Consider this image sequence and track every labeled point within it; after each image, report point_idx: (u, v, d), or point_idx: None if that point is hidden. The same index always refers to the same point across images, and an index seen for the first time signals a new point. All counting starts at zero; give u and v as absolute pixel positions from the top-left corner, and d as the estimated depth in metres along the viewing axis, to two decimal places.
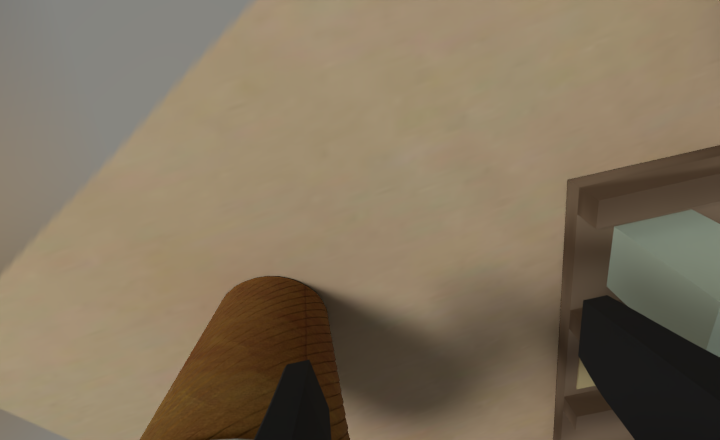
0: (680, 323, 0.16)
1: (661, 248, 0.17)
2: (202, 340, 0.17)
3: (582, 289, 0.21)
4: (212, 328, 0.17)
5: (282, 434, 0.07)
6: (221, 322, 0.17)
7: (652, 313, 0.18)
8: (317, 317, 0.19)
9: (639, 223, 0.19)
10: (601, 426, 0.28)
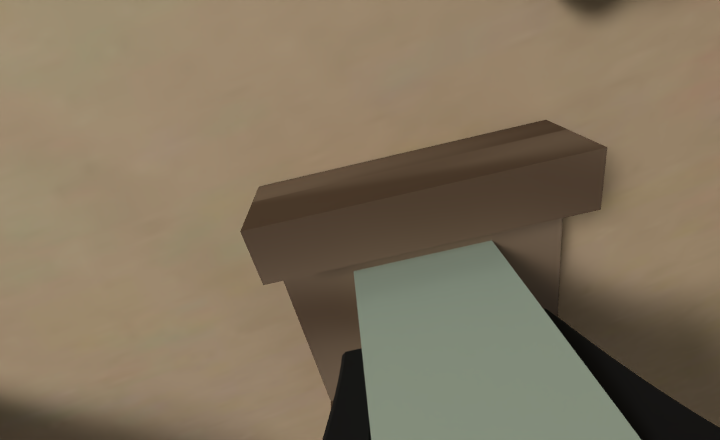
0: None
1: (384, 325, 0.09)
2: None
3: (338, 371, 0.13)
4: None
5: (357, 418, 0.07)
6: None
7: None
8: None
9: (394, 266, 0.10)
10: None
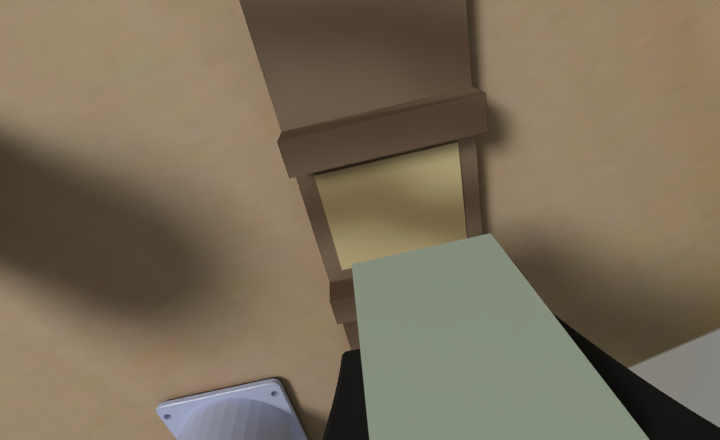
0: None
1: (382, 317, 0.09)
2: None
3: (285, 94, 0.15)
4: None
5: (357, 418, 0.07)
6: None
7: None
8: None
9: (392, 259, 0.10)
10: None
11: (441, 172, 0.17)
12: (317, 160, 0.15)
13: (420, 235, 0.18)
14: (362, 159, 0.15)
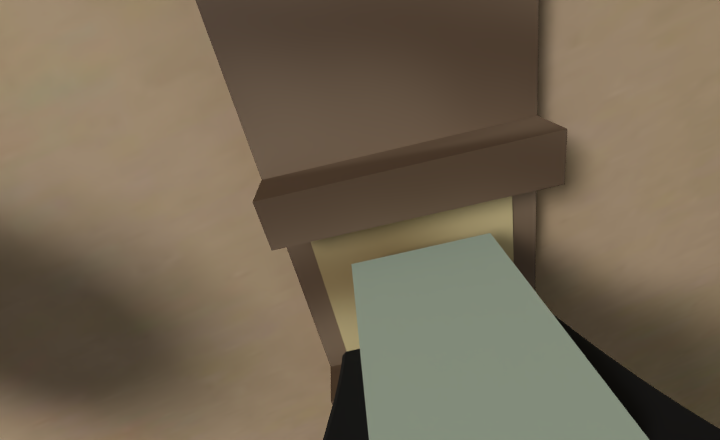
0: None
1: (382, 317, 0.09)
2: None
3: (266, 127, 0.10)
4: None
5: (358, 418, 0.07)
6: None
7: None
8: None
9: (392, 259, 0.10)
10: None
11: (486, 230, 0.12)
12: (313, 226, 0.10)
13: None
14: (379, 223, 0.10)
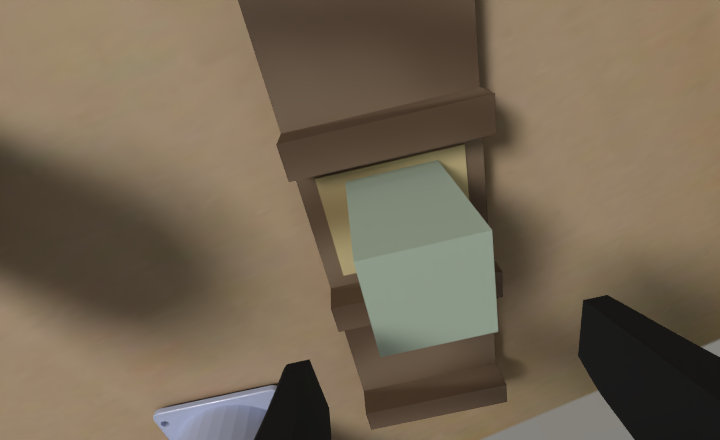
0: None
1: (363, 202, 0.14)
2: None
3: (285, 94, 0.14)
4: None
5: (282, 434, 0.07)
6: None
7: None
8: None
9: (372, 177, 0.16)
10: None
11: None
12: (318, 163, 0.14)
13: None
14: (365, 162, 0.14)
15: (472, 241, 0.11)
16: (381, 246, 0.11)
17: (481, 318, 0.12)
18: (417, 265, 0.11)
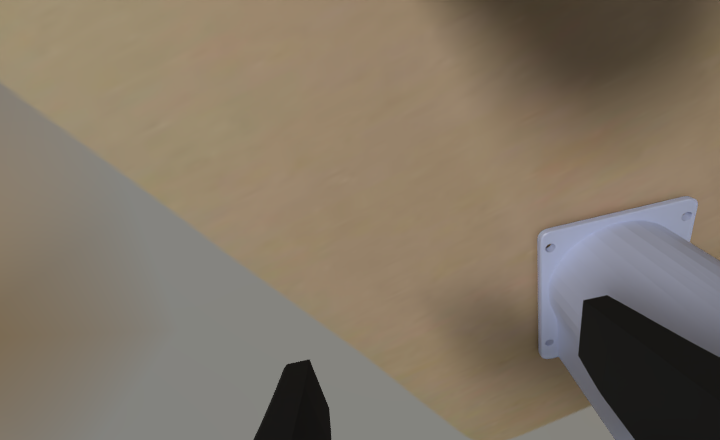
0: None
1: None
2: None
3: None
4: None
5: (282, 434, 0.07)
6: None
7: None
8: None
9: None
10: None
11: None
12: None
13: None
14: None
15: None
16: None
17: None
18: None
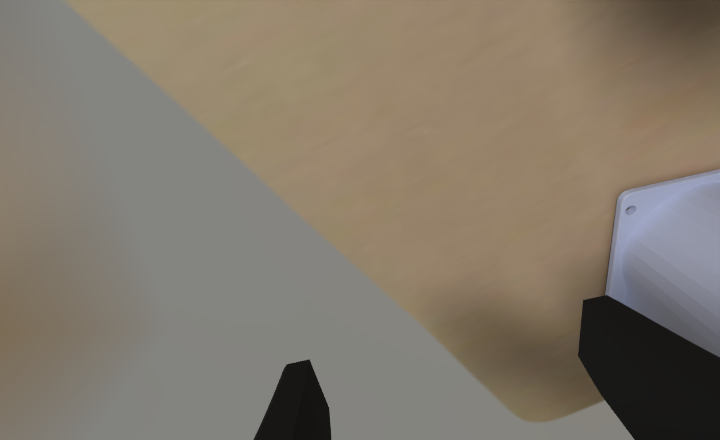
0: None
1: None
2: None
3: None
4: None
5: (282, 434, 0.07)
6: None
7: None
8: None
9: None
10: None
11: None
12: None
13: None
14: None
15: None
16: None
17: None
18: None
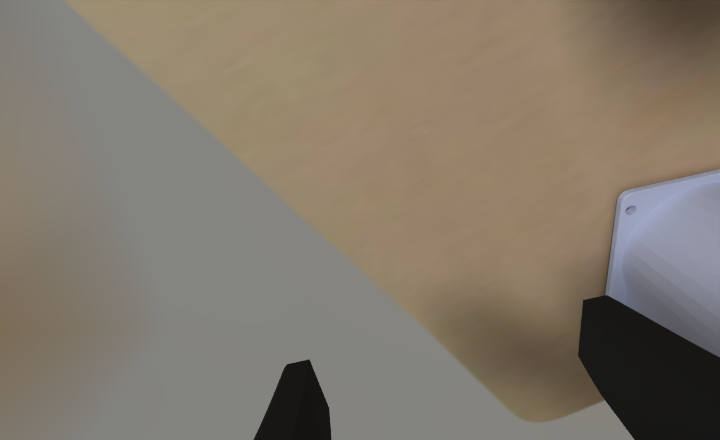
0: None
1: None
2: None
3: None
4: None
5: (282, 434, 0.07)
6: None
7: None
8: None
9: None
10: None
11: None
12: None
13: None
14: None
15: None
16: None
17: None
18: None
